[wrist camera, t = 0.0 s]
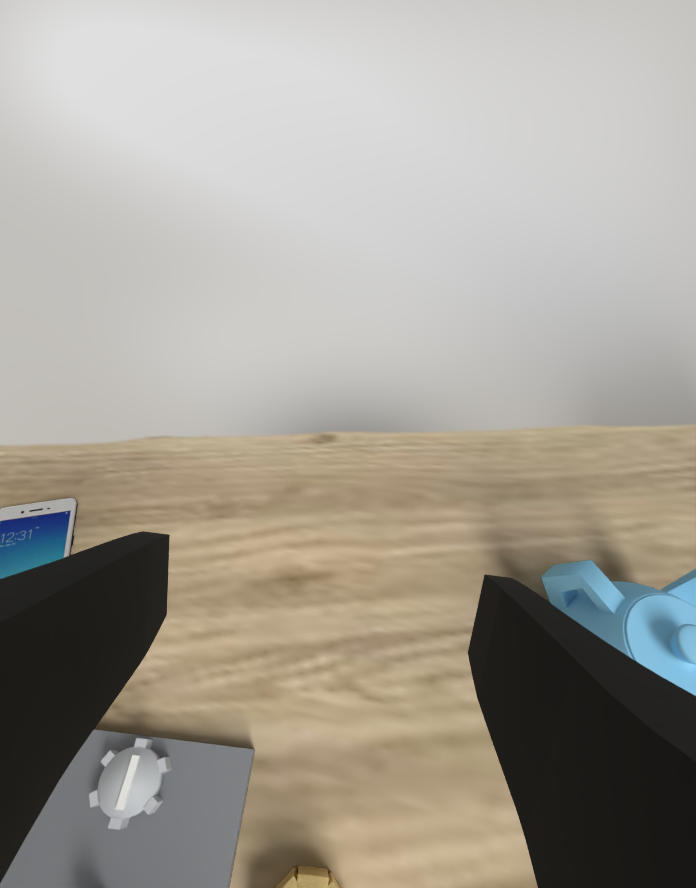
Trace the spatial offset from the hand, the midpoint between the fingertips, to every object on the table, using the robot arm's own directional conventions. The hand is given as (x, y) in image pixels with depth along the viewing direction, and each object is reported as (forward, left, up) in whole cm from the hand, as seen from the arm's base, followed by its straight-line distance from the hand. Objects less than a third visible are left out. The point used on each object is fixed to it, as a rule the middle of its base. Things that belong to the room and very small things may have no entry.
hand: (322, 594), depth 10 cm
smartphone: (+8, +28, -33) cm, 44 cm away
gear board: (-12, +12, -32) cm, 36 cm away
